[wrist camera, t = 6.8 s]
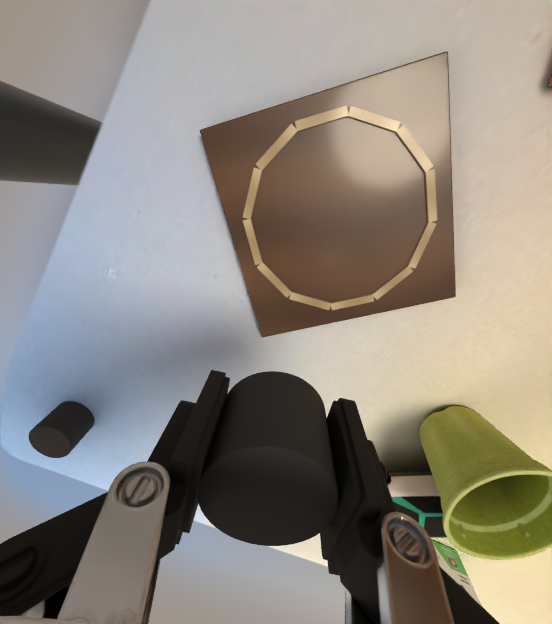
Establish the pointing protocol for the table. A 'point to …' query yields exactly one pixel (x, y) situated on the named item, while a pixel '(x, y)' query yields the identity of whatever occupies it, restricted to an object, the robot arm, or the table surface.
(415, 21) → the table surface
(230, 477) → the dot
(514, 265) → the table surface
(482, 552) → the plant pot
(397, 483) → the toy car
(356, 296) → the face board
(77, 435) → the black cylinder
